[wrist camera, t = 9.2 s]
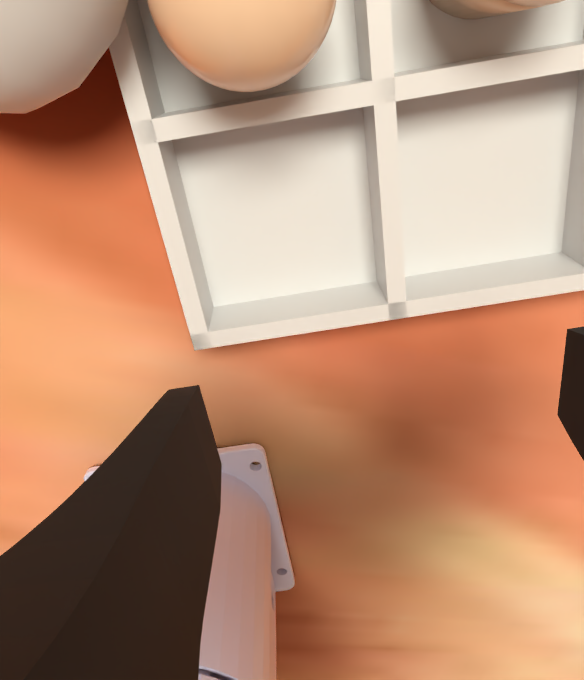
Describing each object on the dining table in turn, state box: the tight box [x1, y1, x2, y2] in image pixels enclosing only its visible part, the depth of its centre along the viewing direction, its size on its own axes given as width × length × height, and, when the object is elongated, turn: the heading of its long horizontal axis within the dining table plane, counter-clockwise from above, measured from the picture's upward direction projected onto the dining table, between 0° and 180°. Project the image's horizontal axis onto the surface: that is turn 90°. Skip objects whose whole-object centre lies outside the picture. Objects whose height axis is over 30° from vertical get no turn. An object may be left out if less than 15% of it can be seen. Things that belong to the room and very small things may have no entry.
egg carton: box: [109, 0, 584, 350], centre depth 15 cm, size 14×20×2 cm
